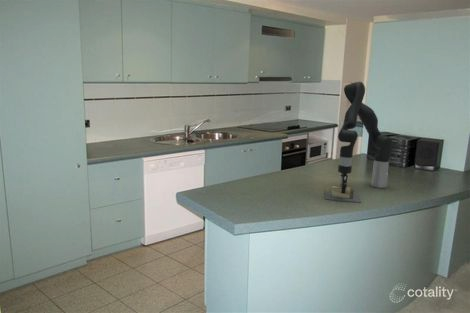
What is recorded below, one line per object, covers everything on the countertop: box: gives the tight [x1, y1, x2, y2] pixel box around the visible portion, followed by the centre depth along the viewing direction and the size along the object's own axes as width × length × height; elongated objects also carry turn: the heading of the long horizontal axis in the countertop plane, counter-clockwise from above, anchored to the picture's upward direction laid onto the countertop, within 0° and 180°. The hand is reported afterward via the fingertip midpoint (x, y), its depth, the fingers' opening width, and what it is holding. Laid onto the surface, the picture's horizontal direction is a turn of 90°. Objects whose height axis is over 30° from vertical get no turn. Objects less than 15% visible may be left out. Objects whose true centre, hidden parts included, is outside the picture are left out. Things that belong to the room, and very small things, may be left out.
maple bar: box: [331, 186, 355, 198], centre depth 238 cm, size 4×12×5 cm, turn 79°
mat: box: [324, 191, 362, 204], centre depth 238 cm, size 20×15×1 cm
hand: (342, 191), depth 237 cm, fingers open, 8 cm apart
